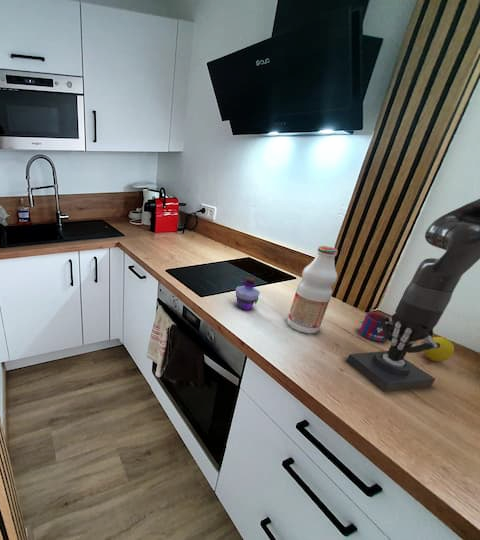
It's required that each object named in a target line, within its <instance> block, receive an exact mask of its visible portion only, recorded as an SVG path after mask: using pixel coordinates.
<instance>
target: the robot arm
mask: <svg viewBox="0 0 480 540" xmlns="http://www.w3.org/2000/svg"><path fill="white" fill-rule="evenodd" d="M424 239H425V241H426V242H427V243H428V244H429V245H431V246H433V247H435V248H438V249H441V250H443V251H445V252H444V253H443V254H442V255H441V256H440V257H439V258H435V257H434V258H433V257H430V258H425V259H423V260H422V261H421V262H420V263H419V264H418V266H417V269H416V271H415V272H414V275H413V277H412V278H411V281H410V282H409V283H408V285H407V286H406V287H405V290H404V291H403V293H402V296H401V298H400V300H399V302H398V304H397V306H396V308H395V310H394V311H395V313H393V314H392V315H391V316H386V317H381V318H380V321H381V325H382V328H383V332H384V336H385V338H386V340H387V341H389V342H390V347H389V349H388V350H387V351H388V357H389V358H390V359H391V360H393V361H399V360H403V358H404V359H405V357H406V354H407V353H408V354H412V353H413V354H414V353H415V354H416V353H421V352H424V351H426V350H431V349H435V348H439V347H440V344H439V343H435V342H434V340H433V337H432V336H433V335H434V328H435V327H436V326H437V325H438V323H439V321H440V319H441V318H442V316H443V314H444V313H445V311H446V309H447V307H448V305H449V303H450V302H451V299H452V297H453V294H454V291H455V289H456V287H457V285H458V284H459V282H460V280H461V279H462V277H463V276H464V275H465V274H466V272H467V271H468V270H470V269H471V268H472V267H473V266H475V264H476V263H478V262H479V260H480V198H478V199H476V200H473V201H471V202H468V203H466V204H464V205H462V206H460V207H458V208H456V209H453V210H451V211H449V212H447V213H445V214H443V215H441V216H440V217H438V218H436V219H435V220H434V221H432V222H431V224H429V226H428V227H427V228H426V230H425V232H424ZM421 340H422V341H421ZM418 341H421V342H420V344H417V345H415V344H416V343H418Z"/></svg>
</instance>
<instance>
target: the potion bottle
mask: <svg viewBox="0 0 480 540" xmlns="http://www.w3.org/2000/svg"><path fill="white" fill-rule="evenodd" d="M256 285H257V281H256V279H255V278H254V277H253V276H252V277H251V276H246V277H245V279H243V283H242V285H238V286H237V287H236V288H235V298H236V307H237V308H238V309H239V310H242V311H245V312H247V311H251V310H252V309H253V306H254V305H256V304H258V301H259V296H260V294H261V291H260V290H258V289H256Z"/></svg>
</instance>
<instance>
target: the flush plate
mask: <svg viewBox="0 0 480 540" xmlns="http://www.w3.org/2000/svg"><path fill="white" fill-rule="evenodd" d="M388 351H389V350H381V351H371V352H370V351H369V352H359V353H356V352H355V353H349V354H348V356H347V358H346V363H347V364H349V365H350V366H351V367H353V369H355V370H356V371H357V372H358V373H360V374H361V375H363V377H365V378H366V379H368V380H369V381H370V382H371V383H372V384H374V385H375V386H376V387H377V388H379V389H380V390H381V391H382V392H385V393H386V392H394V391H404V390H414V389H421V388H432V385H433V384H434V382H435V381H436V378H435V377H433V376H432V375H430V374H429V373H428V372H426V371H424V370H423V369H421V368H419V367H418V366H417V365H415V364H413V363H412V362H410V361H409V360H408V359H406V358H405V357H404V358H403V361H404V362H405V364H404V366H403V367H397V366H393V365H391V364H389V363H387V362H385V361H384V360H383V359H382V356H383V354H388Z"/></svg>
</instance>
